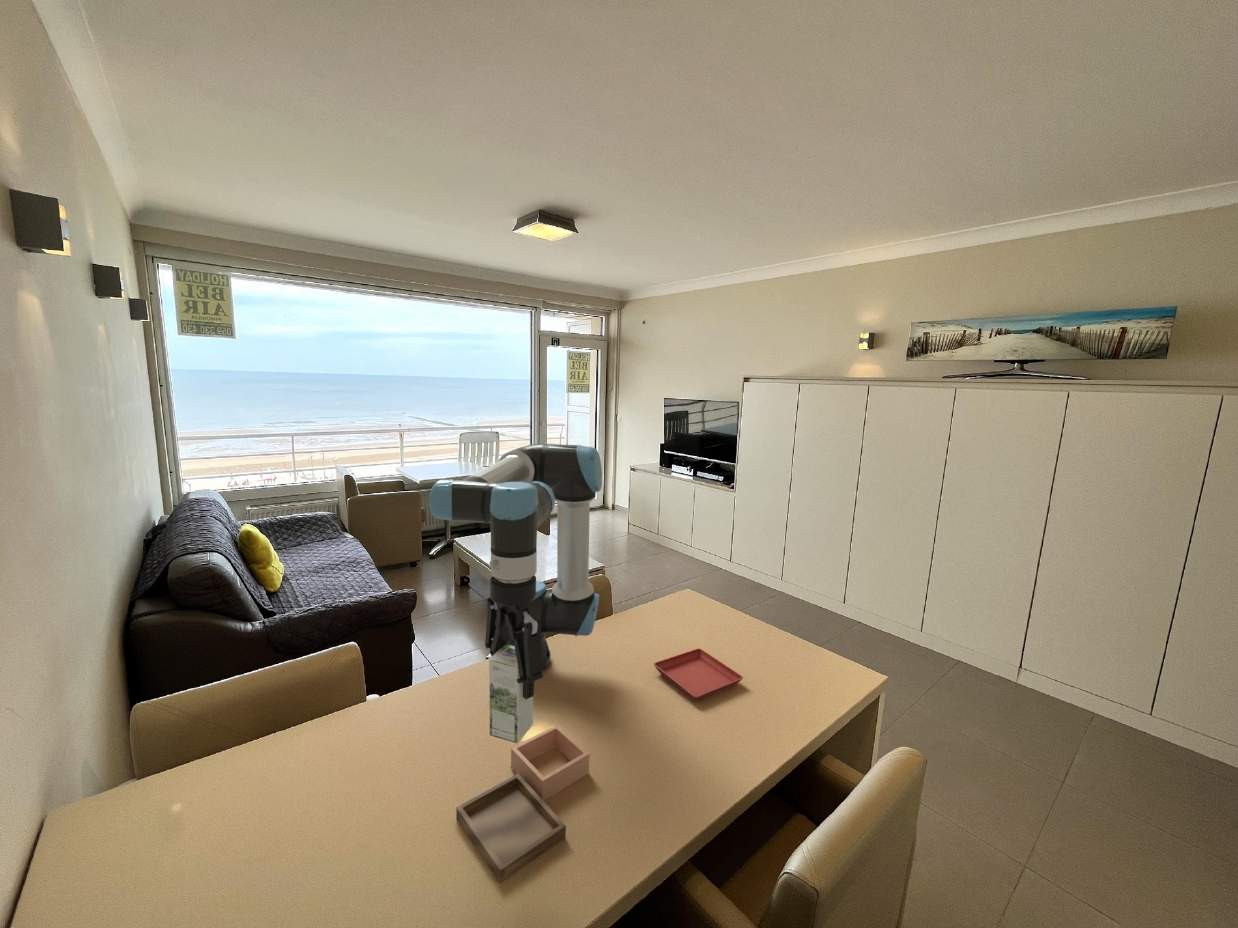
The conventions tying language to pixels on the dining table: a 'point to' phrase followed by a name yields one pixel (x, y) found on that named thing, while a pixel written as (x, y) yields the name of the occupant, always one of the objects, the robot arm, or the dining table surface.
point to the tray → (510, 826)
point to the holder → (558, 777)
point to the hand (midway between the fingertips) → (511, 700)
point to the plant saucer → (697, 673)
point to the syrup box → (506, 697)
